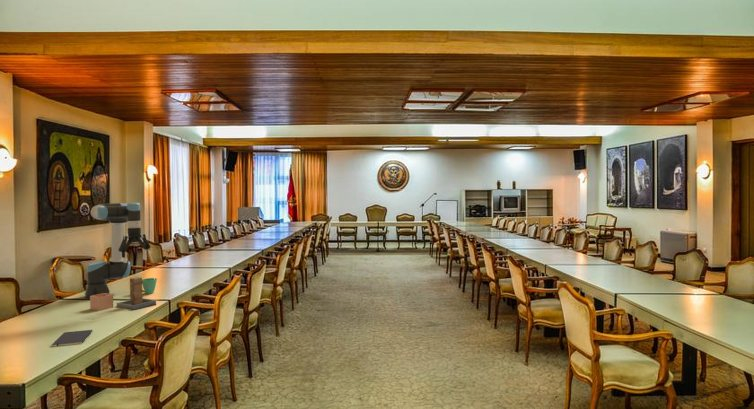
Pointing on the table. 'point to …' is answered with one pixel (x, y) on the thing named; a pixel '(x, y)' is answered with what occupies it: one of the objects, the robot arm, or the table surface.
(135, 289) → the walnut peg
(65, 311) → the table surface
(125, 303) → the charcoal tray
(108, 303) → the square pink sleeve
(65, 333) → the notebook
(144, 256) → the robot arm
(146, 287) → the mug
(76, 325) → the table surface
